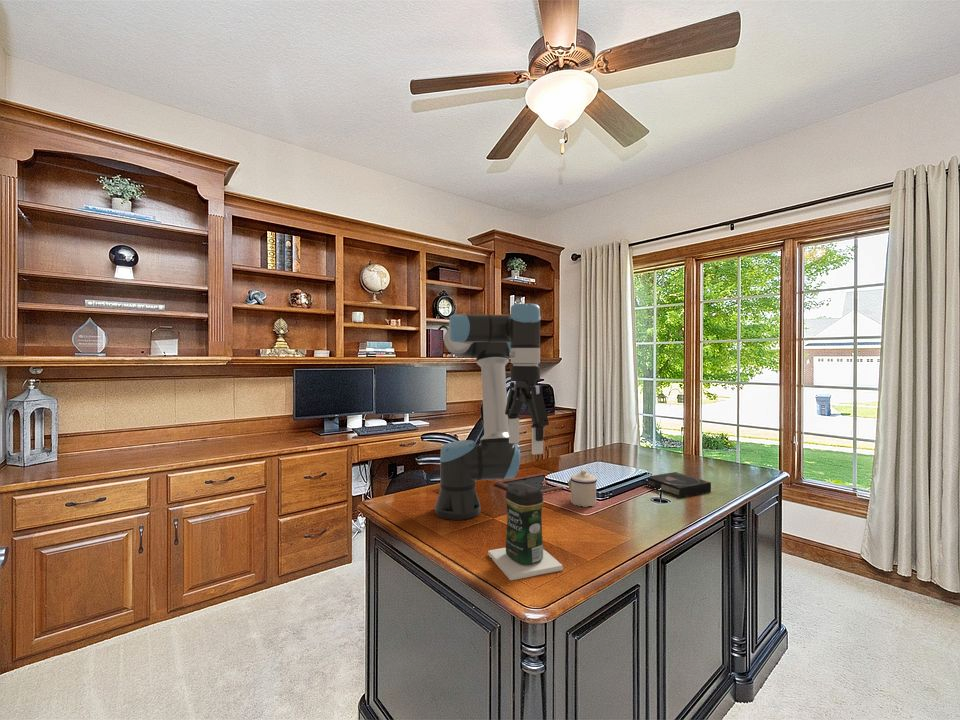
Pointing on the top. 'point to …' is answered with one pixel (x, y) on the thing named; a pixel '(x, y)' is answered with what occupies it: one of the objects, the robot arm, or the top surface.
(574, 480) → the teacup with lid
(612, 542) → the top surface
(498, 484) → the picture frame
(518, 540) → the coffee jar
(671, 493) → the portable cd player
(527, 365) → the robot arm
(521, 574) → the coaster board
